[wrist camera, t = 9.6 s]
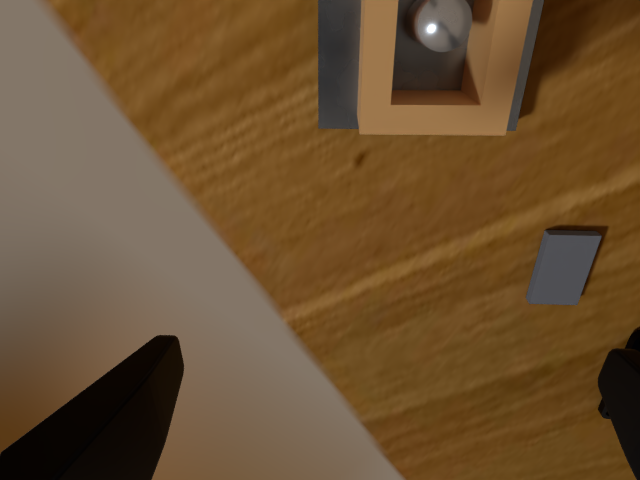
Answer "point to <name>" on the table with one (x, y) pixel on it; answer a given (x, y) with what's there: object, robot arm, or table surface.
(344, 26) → the plate
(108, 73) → the table surface
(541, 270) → the grey rectangular block
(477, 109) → the link
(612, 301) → the table surface
